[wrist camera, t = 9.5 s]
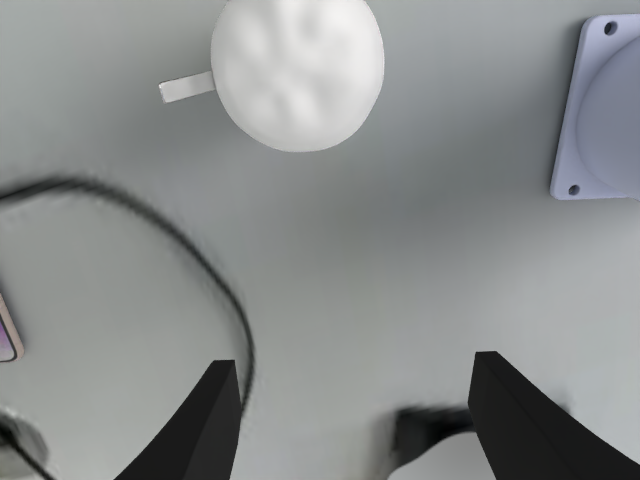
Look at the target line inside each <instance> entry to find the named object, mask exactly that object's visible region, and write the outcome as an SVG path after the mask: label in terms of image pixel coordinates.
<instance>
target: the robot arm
mask: <svg viewBox="0 0 640 480" xmlns="http://www.w3.org/2000/svg"><path fill="white" fill-rule="evenodd" d="M608 22H610V24H611V30H610V32H609V33H608V34H607V35H606V34H605V33H604V28H605V26H606V24H607V23H608ZM573 185H575V189H574V190H573V191H572V192H570V193H569V189H570V187H571V186H573ZM550 194H551V195H552V196H553V197H554V198H556V199H557V200H575V199H599V198H624V197H632V198H634V199H636V200H638V201H640V14H619V15H597V16H593V17H590V18H589V19H588V20H586V22H585V23H584V24H583V27H582V30H581V35H580V40H579V45H578V50H577V55H576V60H575V65H574V70H573V75H572V80H571V85H570V90H569V95H568V100H567V105H566V110H565V115H564V120H563V125H562V130H561V135H560V140H559V145H558V150H557V155H556V160H555V165H554V170H553V175H552V180H551V185H550ZM468 406H469V409H470V413H471V416H472V420H473V423H474V426H475V430H476V433H477V436H478V438H479V441H480V443H481V445H482V448H483V450H484V452H485V455H486V457H487V459H488V462H489V464H490V466H491V468H492V470H493V473H494V475H495V477H496V480H640V465H639V464H638V463H636V462H635V461H633V460H631V459H630V458H628V457H627V456H625V455H624V454H622V453H621V452H619V451H618V450H617V449H615V448H614V447H612V446H611V445H609V444H608V443H606V442H605V441H603V440H602V439H601V438H599V437H598V436H596V435H595V434H594V433H592V432H591V431H590V430H588V429H587V428H586V427H584V426H583V425H582V424H581V423H579V422H578V421H577V420H575V419H574V418H573V417H571V416H570V415H569V414H568V413H566V412H565V411H564V410H563V409H562V408H560V407H559V406H558V405H557V404H555V403H554V402H553V401H552V400H551V399H549V398H548V397H547V396H546V395H545V394H544V393H543V392H541V391H540V390H539V389H538V388H537V387H536V386H535V385H533V384H532V383H531V382H530V381H529V380H528V379H527V378H526V377H524V376H523V375H522V374H521V373H520V372H519V371H518V370H517V369H516V368H514V367H513V366H512V365H511V364H510V363H509V362H508V361H507V360H506V359H505V358H503V357H502V356H501V355H500V354H499V353H498V352H497V351H487V352H476V354H475V360H474V366H473V372H472V379H471V385H470V391H469V397H468ZM241 412H242V409H241V402H240V395H239V388H238V381H237V374H236V367H235V360H214V361H213V362H212V363H211V364H210V366H209V367H208V368H207V370H206V371H205V373H204V374H203V376H202V377H201V379H200V380H199V382H198V383H197V384H196V386H195V387H194V389H193V390H192V391H191V393H190V394H189V395H188V397H187V398H186V399H185V401H184V402H183V403H182V405H181V406H180V407H179V409H178V410H177V411H176V412H175V414H174V415H173V416H172V417H171V419H170V420H169V421H168V422H167V423H166V425H165V426H164V427H163V428H162V429H161V431H160V432H159V433H158V434H157V435H156V436H155V438H154V439H153V440H152V441H151V442H150V443H149V444H148V445H147V447H146V448H145V449H144V450H143V451H142V452H141V453H140V454H139V455H138V456H137V457H136V458H135V459H134V460H133V461H132V462H131V463H130V464H129V465H128V466H127V467H126V468H125V469H124V470H123V471H122V472H121V473H120V474H119V475H118V476H117V477H116V478H115V479H114V480H229V479H230V475H231V471H232V467H233V462H234V458H235V454H236V449H237V445H238V438H239V430H240V421H241Z"/></svg>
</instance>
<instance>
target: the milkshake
mask: <svg viewBox="0 0 640 480" xmlns="http://www.w3.org/2000/svg"><path fill="white" fill-rule="evenodd" d="M211 66H212V71H208V72H203V73H199V74H195V75H190V76H186V77H182V78H177V79H173V80H169V81H165V82H161V83H159V85H158V86H159V90H160V94H161V97H162V100H163V103H165V104H167V103H171V102H175V101H178V100H182V99H185V98H189V97H192V96H195V95H199V94H202V93H206V92H209V91H212V90H217V92H218V95H219V97H220V100H221V102H222V104H223V106H224V108H225V110H226V111H227V113H228V114H229V116H230V117H231V119H232V120H233V121H234V122H235V123H236V124H237V125H238V126H239V127H240V128H241V129H242V130H243V131H244V132H245V133H247V134H248V135H249V136H251V137H252V138H254V139H255V140H257V141H259V142H261V143H262V144H264V145H267V146H269V147H271V148H274V149H277V150H281V151H286V152H311V151H318V150H323V149H327V148H330V147H332V146H335V145H337V144H339V143H341V142H343V141H344V140H346V139H347V138H349V137H350V136H352V135H353V134H354V133H355V132H356V131H357V130H358V129H359V128H360V127H361V125H362V124H363V123H364V121H365V120H366V118H367V116H368V115H369V113H370V111H371V109H372V108H373V106H374V104H375V102H376V100H377V98H378V95H379V93H380V90H381V87H382V83H383V78H384V66H385V60H384V47H383V42H382V37H381V33H380V30H379V27H378V24H377V22H376V19H375V17H374V15H373V13H372V11H371V10H370V8H369V6H368V5H367V3H366V2H365V1H364V0H229V1H228V3H227V4H226V5H225V7H224V8H223V10H222V11H221V13H220V15H219V17H218V19H217V21H216V24H215V27H214V30H213V35H212V41H211Z"/></svg>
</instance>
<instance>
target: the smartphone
mask: <svg viewBox="0 0 640 480" xmlns="http://www.w3.org/2000/svg"><path fill="white" fill-rule="evenodd" d="M23 355H24V347H23V345H22V342H21V340H20V337H19V335H18V333H17V330H16V328H15V326H14V323H13V321H12V319H11V316H10V314H9V312H8V309H7V307H6V304H5V302H4V300H3V297H2V295H1V293H0V363H7V362H14V361H17V360H19V359H20V358H21V357H22V356H23Z"/></svg>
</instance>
